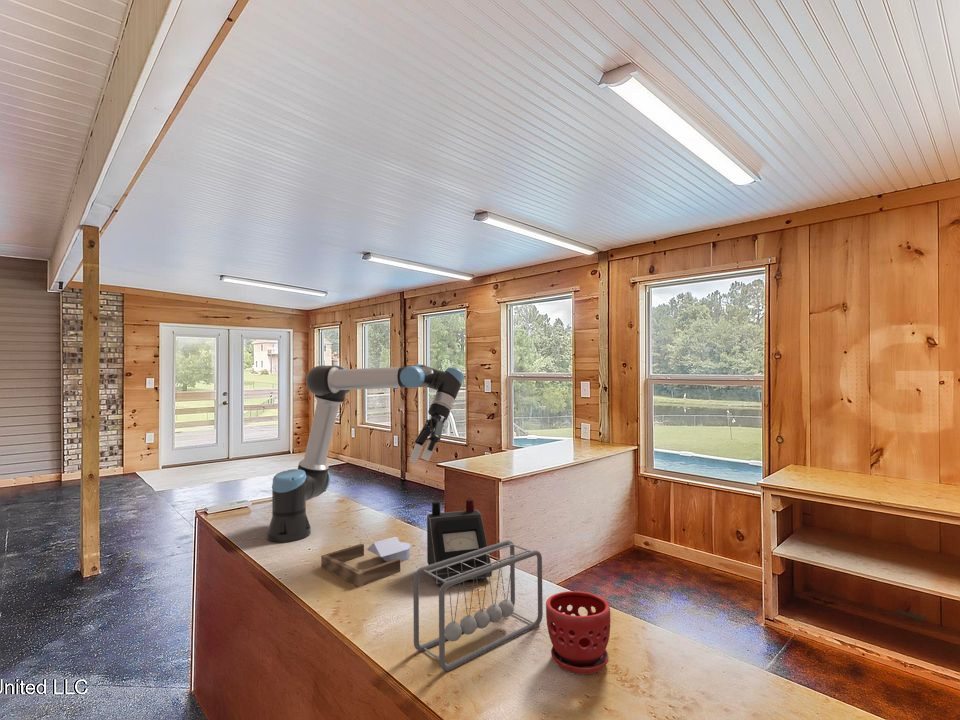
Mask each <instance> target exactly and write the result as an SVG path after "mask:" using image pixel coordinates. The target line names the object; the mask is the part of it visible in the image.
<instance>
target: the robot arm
mask: <svg viewBox="0 0 960 720" xmlns="http://www.w3.org/2000/svg"><path fill="white" fill-rule="evenodd" d="M464 378H465V375H464V372H463V371H462V370H460V369H458V368H456V367H452V366H450V367H447V368H446V369H445V371H443V370H439V369H436V368H433V367H430V366H428V365H425V364H420V363H415V364H414V365H409V366H393V367H392V366H391V367H390V366H389V367H369V368H368V367H367V368H349V369H348V368H346V367H344V366H339V365H317V366H314V367H312V369H311V368H310V370H309V371H308V372H307V375H306V377H305V384H306V387H307V389H308V390H309V392H311V393H312V394H313V395H314V398H315V399H316V405H315V409H314V415H313V419H312V423H311V427H310V431H309V436H308V440H307V445H306V448H305V453H304V457H303V458H302V460H300V461H299V462H298V465H297V466H298V467H297V468H295V469H294V468H293V469H287V470H282V471H280V472H278V473H276V474H275V475H273V478H272V484H271V491H272V492H271V493H272V494H271V495H272V496H271V497H272V498H271V499H272V501H271V502H272V503H271V504H272V505H271V506H272V514H271V515H272V517H271V519H270V523H269V526H268V527H267V528H268V529H267V532H266V538H267V540H268V541H270V542H273V543H274V542H275V543H287V542H288V543H289V542H295V541H299V540H303V539H305V538H307V537H309V536H310V535H311V531H312V530H311V524H310V522H309V519H308V516H307V512H306V511H307V509H306V508H307V505H306V504H307V501H309V500H312V499H313V498H317V497H319V496H321V495H322V494H323V493H325V492H326V491H327V490H328V488H329V486H330V484H331V474H330V472H329V464H328V463H327V458H328V455H329V450H330V447H331V442H332V439H333V433H334V429H335V424H336V420H337V416H338V411H339V407H340V406H341V404H343V403H345V398H346V395H347V394H348V393H349V392H350V391H351V390H373V389H374V390H375V389H376V390H378V389H379V390H380V389H402V388H403V389H405V388H407V389H408V388H409V389H412V388H413V389H417V388H424V387H425V388H429V389H433V390H436V393H435V395H434V396H433V399H432V402H431V404H430V406H429V408H428V411H427V412H428V414H429V415H430V418H429V419H426V421H425V422H424V425H423V427H422V429H421V430H420V432H419V433H418V435H417V437H416V439H415V440H414V443H415V445H414V447H413V450H412V452H411V455H410V456H409V459H408V461H410V462H412V463H415V464H417V461H418V459H419V457H420V455H421V453H422V450H423V448H424V451H423V453H422V455H421V459H423V460H425V461H426V462H429V461H430V459H431V457H432V455H433V452H434V450H435V448H436V445H437V443H438V442H440V441H441V438H442V434H443V429H444V424H445V422H446V421H447V420H448V419H449V415H450V413H451V410H452V408H453V407H454V406H455V401H456V399H457V396H458V394H459V391H460V390H461V387H462V385H463V382H464ZM427 440H428V441H427ZM426 441H427V444H426V446H425V445H424V444H425V442H426Z"/></svg>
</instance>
